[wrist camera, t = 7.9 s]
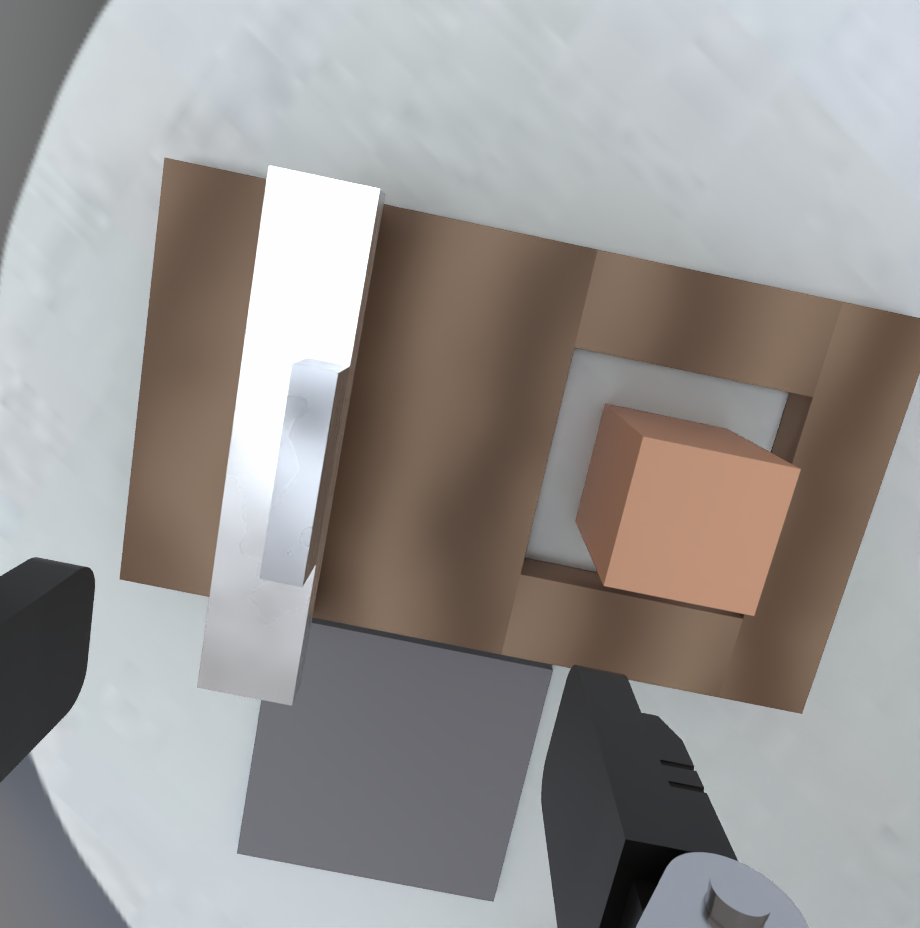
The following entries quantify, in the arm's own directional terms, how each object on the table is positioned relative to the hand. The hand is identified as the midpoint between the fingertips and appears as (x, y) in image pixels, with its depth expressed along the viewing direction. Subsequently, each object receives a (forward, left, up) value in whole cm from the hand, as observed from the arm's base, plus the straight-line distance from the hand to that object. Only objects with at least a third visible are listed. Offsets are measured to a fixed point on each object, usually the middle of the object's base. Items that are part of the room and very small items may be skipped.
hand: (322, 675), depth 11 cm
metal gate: (+3, 0, -18) cm, 18 cm away
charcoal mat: (-1, +15, -20) cm, 25 cm away
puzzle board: (-3, 0, -20) cm, 20 cm away
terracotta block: (-9, 0, -20) cm, 22 cm away
